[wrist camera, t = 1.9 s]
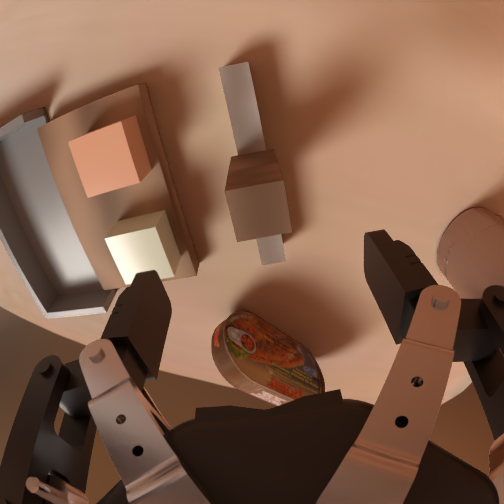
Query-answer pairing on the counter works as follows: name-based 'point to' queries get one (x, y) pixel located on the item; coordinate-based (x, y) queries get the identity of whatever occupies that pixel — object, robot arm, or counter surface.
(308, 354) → the tin
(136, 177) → the salmon pink cube
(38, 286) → the box
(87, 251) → the walnut board
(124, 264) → the cream block
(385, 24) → the counter surface
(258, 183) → the cube on grey rod
